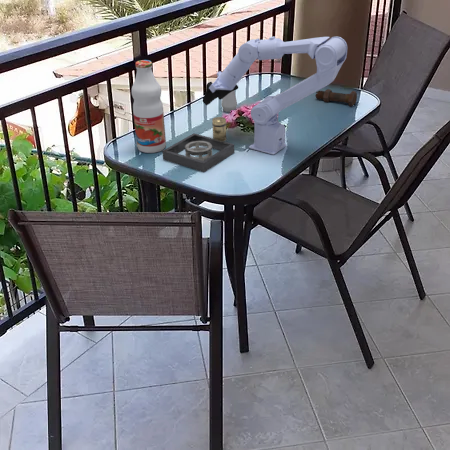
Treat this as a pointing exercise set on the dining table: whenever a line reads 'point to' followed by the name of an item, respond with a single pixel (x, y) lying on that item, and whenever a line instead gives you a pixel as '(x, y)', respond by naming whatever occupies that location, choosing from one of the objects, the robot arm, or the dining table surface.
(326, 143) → the dining table surface
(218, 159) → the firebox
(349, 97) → the bolt
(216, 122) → the beige cylinder
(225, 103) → the salt shaker
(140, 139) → the fruit juice
